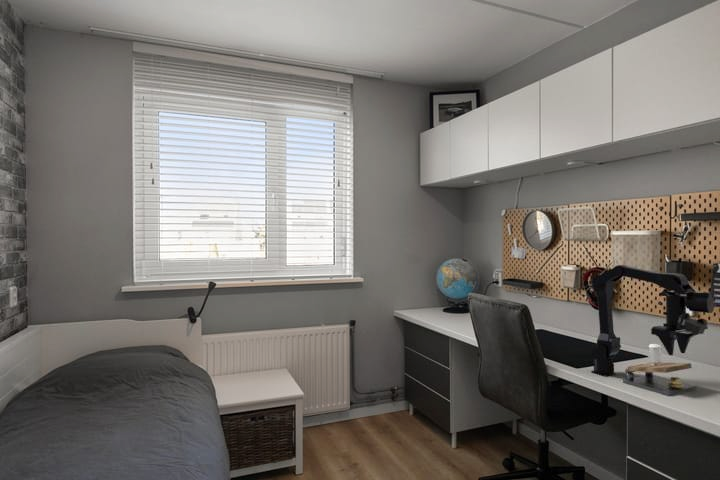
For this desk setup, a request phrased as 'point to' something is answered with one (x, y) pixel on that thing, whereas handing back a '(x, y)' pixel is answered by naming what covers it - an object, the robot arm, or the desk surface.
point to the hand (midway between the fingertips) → (676, 354)
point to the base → (658, 383)
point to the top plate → (658, 367)
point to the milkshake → (655, 352)
